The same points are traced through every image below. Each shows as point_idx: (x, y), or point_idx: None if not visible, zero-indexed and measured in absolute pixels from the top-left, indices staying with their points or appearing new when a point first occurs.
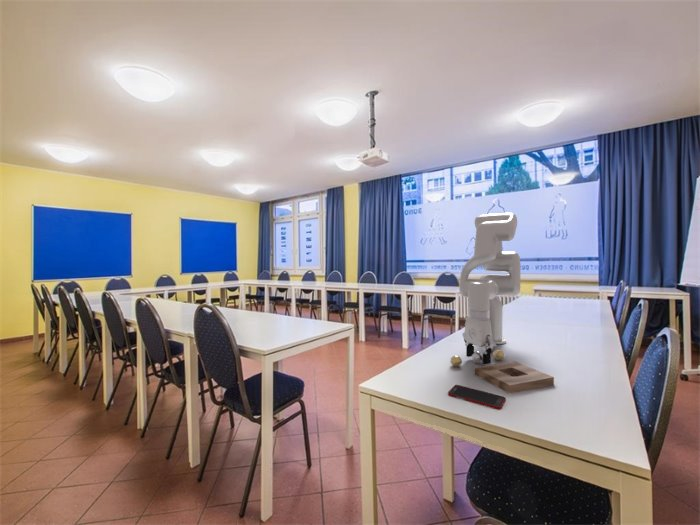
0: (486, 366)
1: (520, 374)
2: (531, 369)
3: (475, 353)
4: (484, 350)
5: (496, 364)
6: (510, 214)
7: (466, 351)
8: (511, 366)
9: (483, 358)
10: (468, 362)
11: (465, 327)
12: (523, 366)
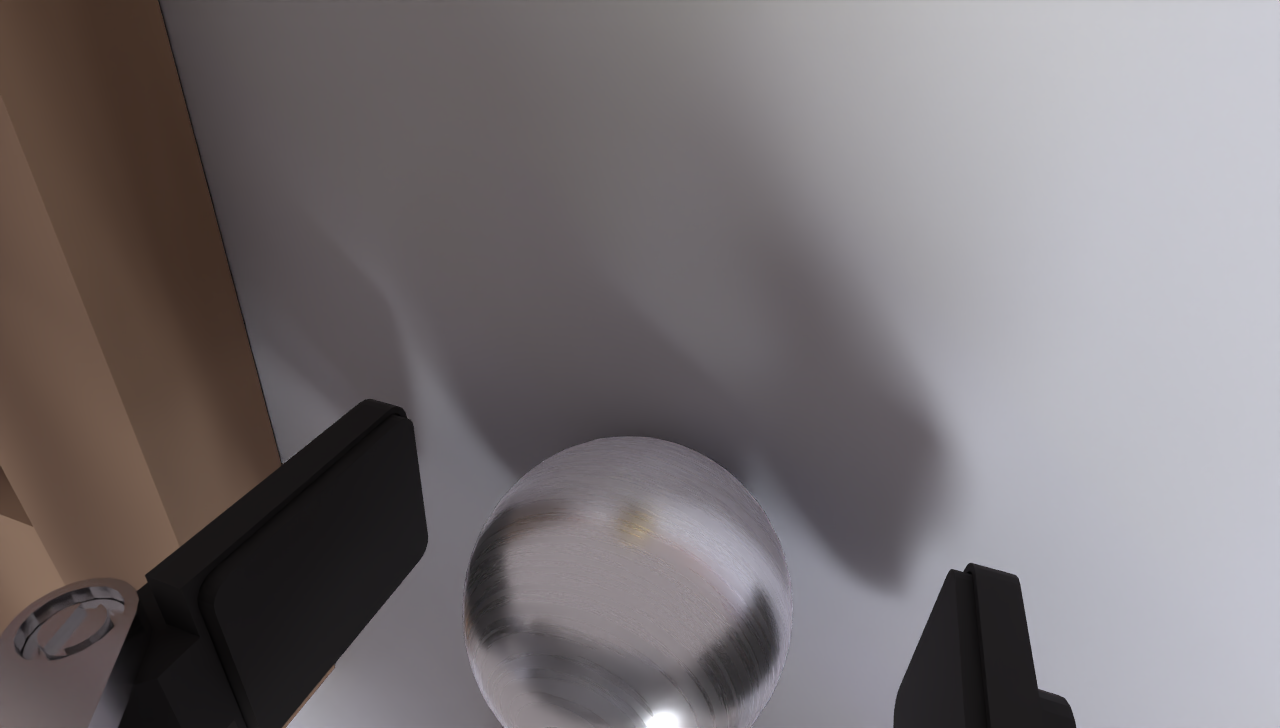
0: (8, 189)
1: None
2: (2, 620)
3: (562, 620)
4: (29, 685)
5: (134, 464)
6: None
7: (1034, 704)
8: (70, 554)
9: (272, 481)
10: (826, 378)
11: None
12: None
